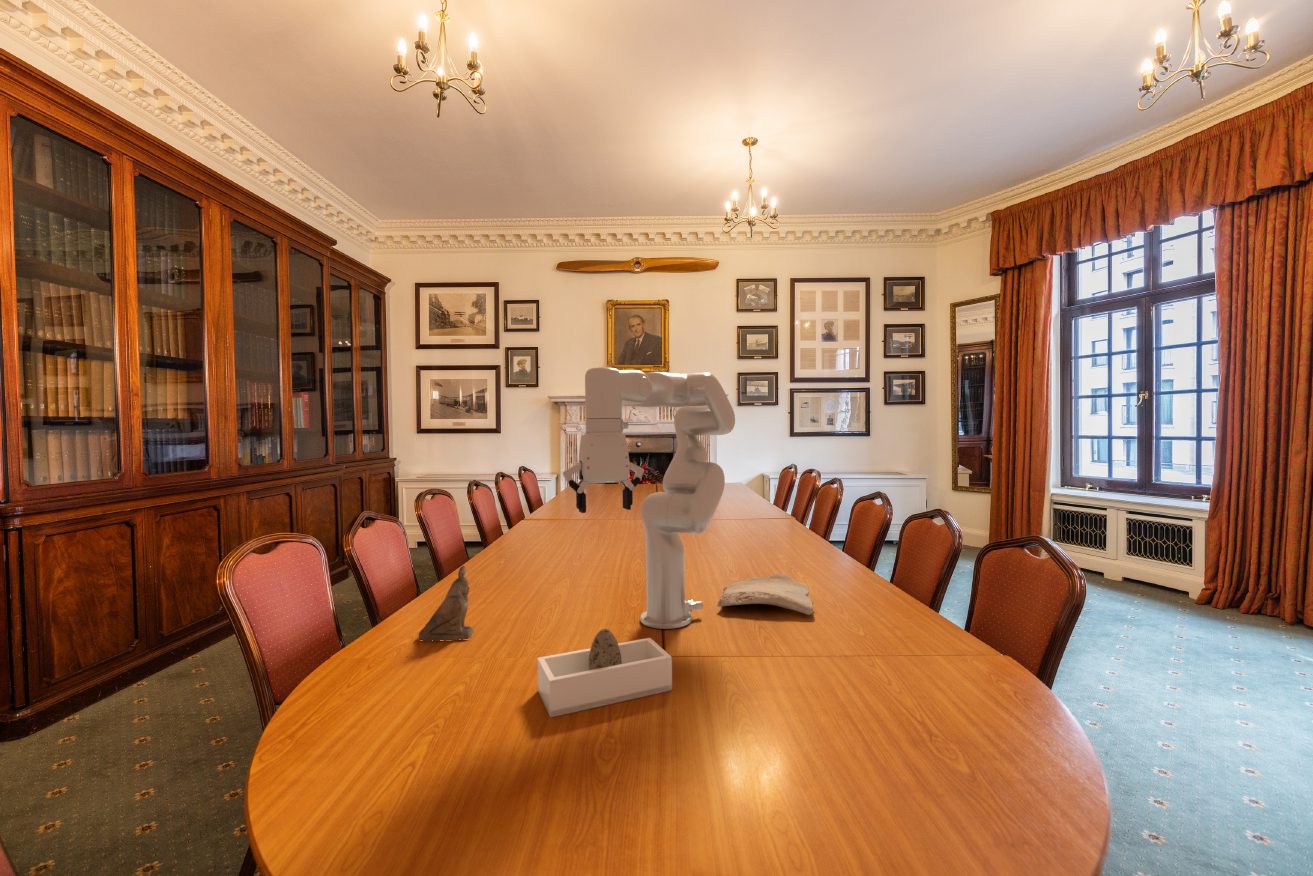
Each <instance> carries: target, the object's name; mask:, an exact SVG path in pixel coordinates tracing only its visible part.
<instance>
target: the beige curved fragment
mask: <svg viewBox="0 0 1313 876" xmlns="http://www.w3.org/2000/svg"><path fill="white" fill-rule="evenodd" d="M809 588H810V587H809V586H808V585H807V584H805V583H802V582H799V581H798V580H796V579H793V578H791V576H789V575H788V574H783V573H781V574H777V573H773V574H772V575H768V576H753V577H750V578H749V579H745V580H742V581H737V582H733V583H730V584H726V586H725V587H724V588H723V589H722V590H723V591H722V595H721V596H720V598H719V599H718V600H719V601H717V605H716V606H717V607H719V608H721V607H728V606H729V607H730V606H738V605H739V606H741V605H751V604H754V605H757V604H758V605H771V606H777V607H781V608H784V609H788V610H792V611H795V612H799V613H801V614H805V615H807V616H810V615H812V614H813V613H814V602H812V599H811V598H810V597H809V594H810V589H809Z"/></svg>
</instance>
